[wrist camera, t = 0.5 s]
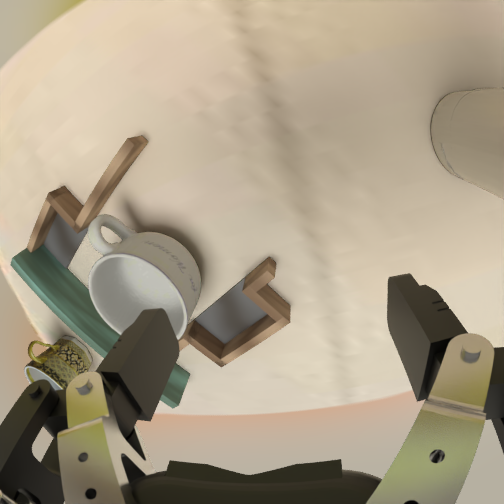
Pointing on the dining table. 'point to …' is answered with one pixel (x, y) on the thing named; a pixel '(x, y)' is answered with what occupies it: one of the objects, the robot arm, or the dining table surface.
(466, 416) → the robot arm
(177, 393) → the teal wooden tray
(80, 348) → the ceramic cup
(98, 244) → the teacup
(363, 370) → the dining table surface
